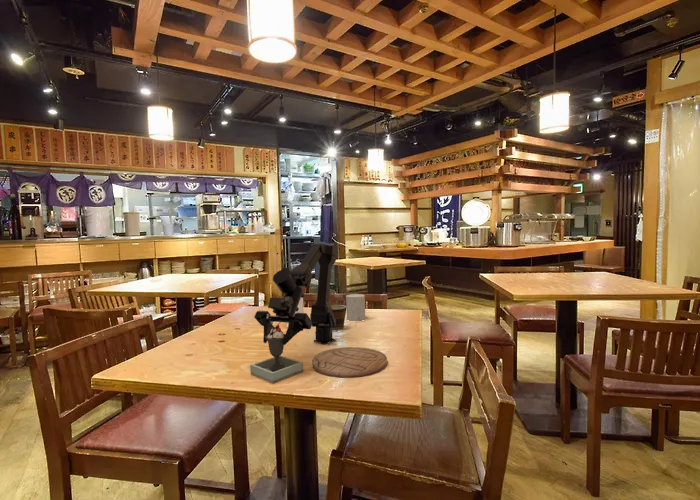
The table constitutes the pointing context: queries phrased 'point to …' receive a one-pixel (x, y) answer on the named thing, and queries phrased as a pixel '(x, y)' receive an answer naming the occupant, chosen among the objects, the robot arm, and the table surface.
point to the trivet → (349, 362)
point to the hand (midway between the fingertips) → (273, 343)
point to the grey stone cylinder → (355, 307)
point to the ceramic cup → (339, 316)
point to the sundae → (276, 346)
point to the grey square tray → (273, 376)
